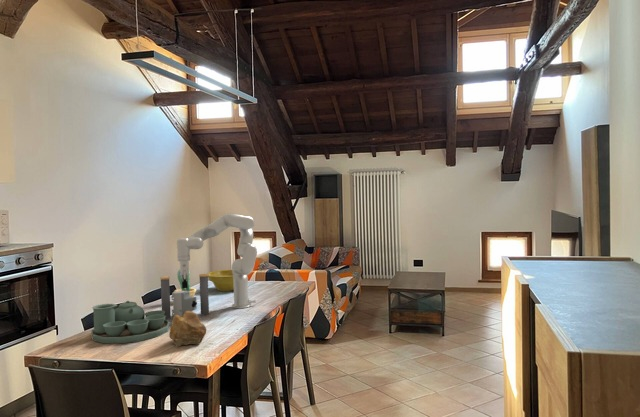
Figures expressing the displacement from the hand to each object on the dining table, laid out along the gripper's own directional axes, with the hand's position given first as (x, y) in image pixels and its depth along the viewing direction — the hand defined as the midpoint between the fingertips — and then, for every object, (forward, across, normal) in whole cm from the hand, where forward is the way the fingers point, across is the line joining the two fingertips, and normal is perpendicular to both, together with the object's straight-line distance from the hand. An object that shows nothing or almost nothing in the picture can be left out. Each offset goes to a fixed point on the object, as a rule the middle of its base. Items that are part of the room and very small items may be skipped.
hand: (184, 287), depth 291 cm
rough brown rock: (+18, -57, -1) cm, 60 cm away
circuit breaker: (+18, 0, 0) cm, 18 cm away
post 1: (+18, 0, +12) cm, 21 cm away
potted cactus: (+18, +44, -1) cm, 47 cm away
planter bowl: (+18, +76, -34) cm, 85 cm away
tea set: (+18, -26, +29) cm, 43 cm away
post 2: (+18, 0, -12) cm, 21 cm away
